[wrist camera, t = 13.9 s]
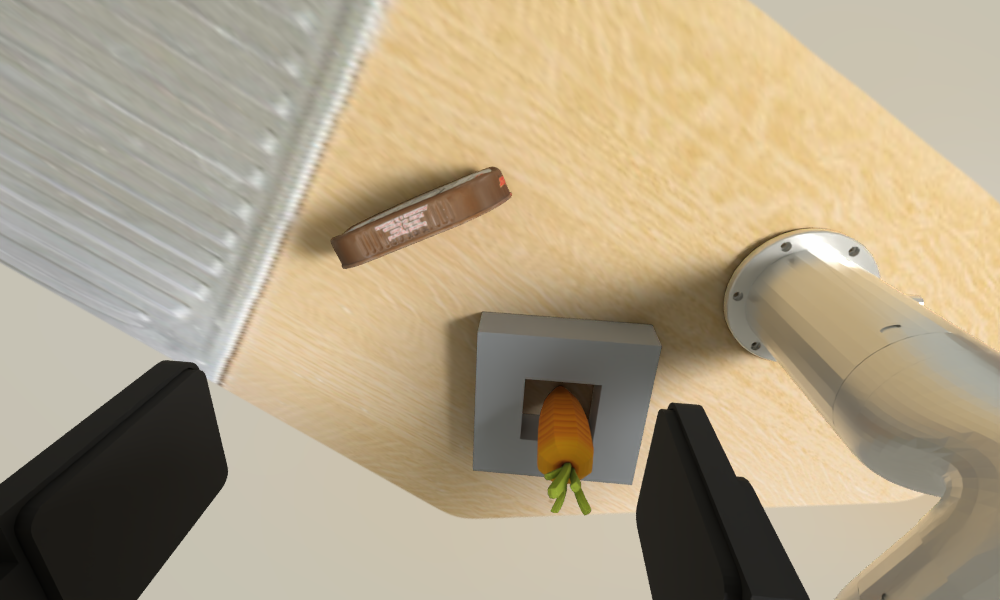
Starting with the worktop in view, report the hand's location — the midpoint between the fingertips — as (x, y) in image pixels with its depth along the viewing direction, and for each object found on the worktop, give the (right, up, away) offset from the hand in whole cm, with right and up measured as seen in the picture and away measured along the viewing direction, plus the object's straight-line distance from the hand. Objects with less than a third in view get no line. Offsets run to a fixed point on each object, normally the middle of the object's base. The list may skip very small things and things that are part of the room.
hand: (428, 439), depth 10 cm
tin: (-5, +11, +33) cm, 36 cm away
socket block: (+7, -6, +40) cm, 41 cm away
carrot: (+8, -6, +40) cm, 41 cm away
